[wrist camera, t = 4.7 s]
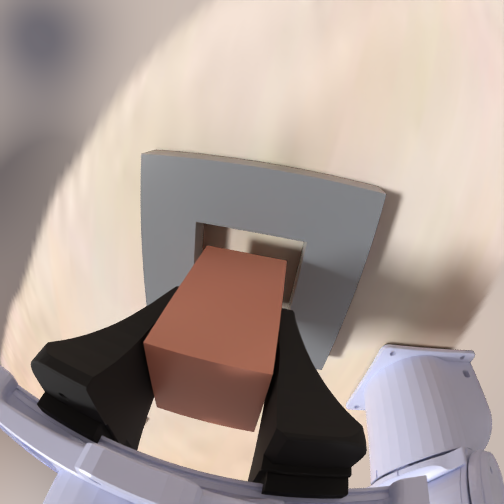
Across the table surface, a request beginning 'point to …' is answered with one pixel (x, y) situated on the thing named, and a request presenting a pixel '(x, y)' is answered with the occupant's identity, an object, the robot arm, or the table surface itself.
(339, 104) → the table surface
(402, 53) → the table surface
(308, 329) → the socket plate
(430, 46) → the table surface
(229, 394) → the reddish brown block
